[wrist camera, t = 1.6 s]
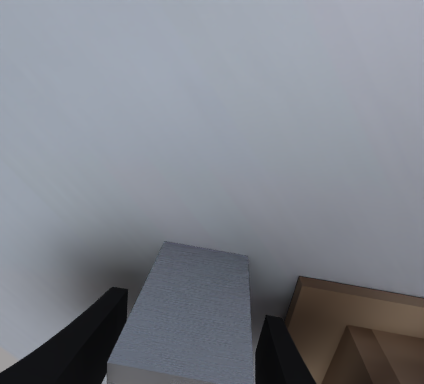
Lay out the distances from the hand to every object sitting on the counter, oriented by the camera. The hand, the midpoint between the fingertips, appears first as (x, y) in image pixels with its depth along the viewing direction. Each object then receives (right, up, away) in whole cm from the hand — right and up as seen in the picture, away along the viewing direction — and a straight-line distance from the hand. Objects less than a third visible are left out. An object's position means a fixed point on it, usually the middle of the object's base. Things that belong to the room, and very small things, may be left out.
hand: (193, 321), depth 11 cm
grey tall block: (0, +1, +1) cm, 2 cm away
